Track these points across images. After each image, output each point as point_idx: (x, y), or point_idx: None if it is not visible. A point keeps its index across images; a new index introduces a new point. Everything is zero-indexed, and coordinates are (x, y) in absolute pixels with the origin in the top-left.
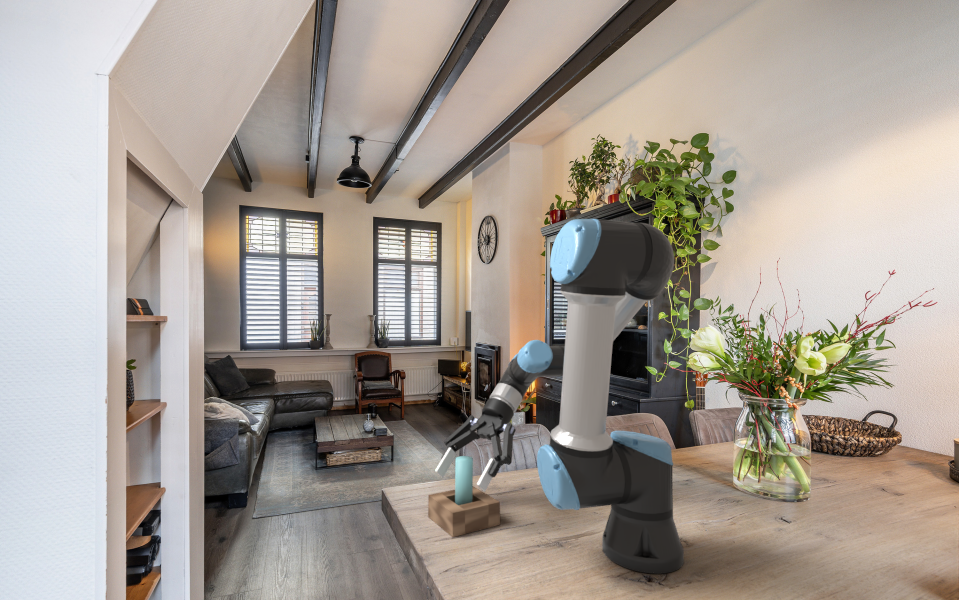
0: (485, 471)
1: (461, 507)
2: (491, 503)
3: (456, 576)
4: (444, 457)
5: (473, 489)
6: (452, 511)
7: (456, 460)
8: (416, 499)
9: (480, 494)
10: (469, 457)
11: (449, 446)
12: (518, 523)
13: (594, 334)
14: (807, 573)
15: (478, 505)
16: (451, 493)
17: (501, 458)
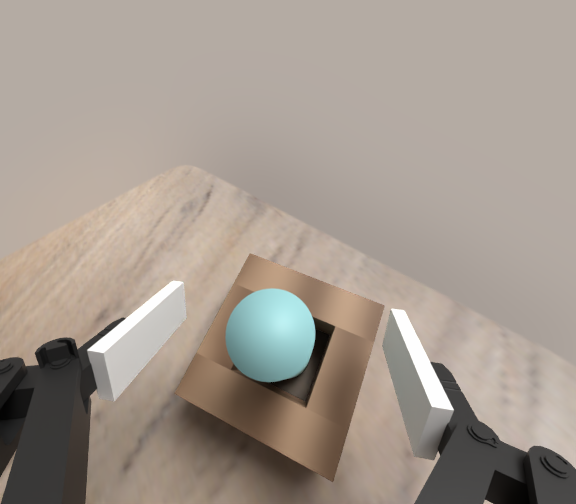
0: (142, 308)
1: (250, 290)
2: (192, 365)
3: (187, 192)
4: (415, 354)
5: (306, 445)
6: (256, 259)
7: (289, 293)
8: (501, 400)
9: (257, 413)
10: (256, 365)
11: (462, 422)
12: (162, 436)
13: None
14: None
15: (218, 329)
16: (340, 359)
17: (37, 374)
